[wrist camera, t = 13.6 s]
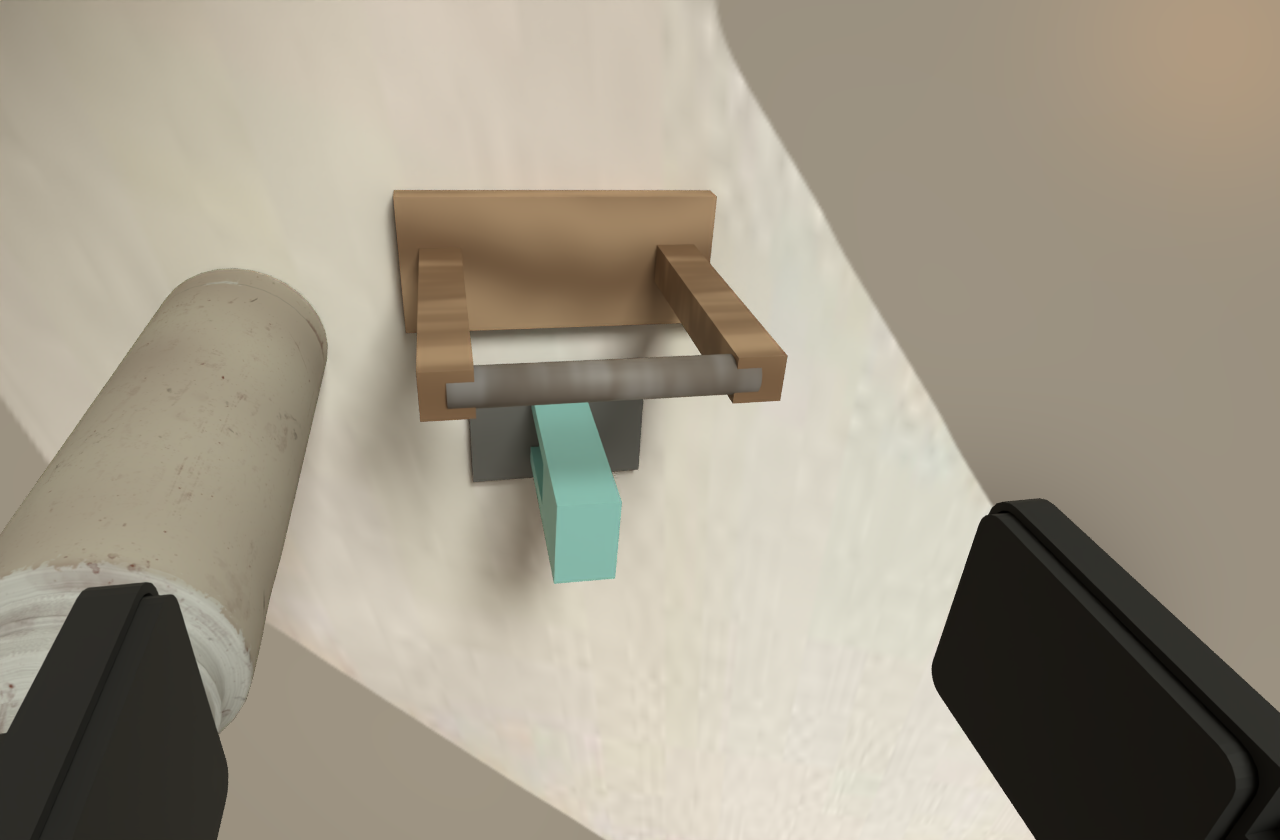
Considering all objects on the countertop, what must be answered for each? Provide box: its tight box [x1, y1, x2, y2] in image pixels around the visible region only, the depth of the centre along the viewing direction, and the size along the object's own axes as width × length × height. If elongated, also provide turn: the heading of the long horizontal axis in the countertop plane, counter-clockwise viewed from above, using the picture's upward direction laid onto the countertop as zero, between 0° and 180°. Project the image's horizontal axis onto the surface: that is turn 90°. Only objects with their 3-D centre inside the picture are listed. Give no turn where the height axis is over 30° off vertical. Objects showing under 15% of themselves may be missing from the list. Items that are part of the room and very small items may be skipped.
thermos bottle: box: [0, 269, 328, 734], centre depth 30 cm, size 8×8×28 cm
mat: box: [470, 399, 643, 482], centre depth 48 cm, size 7×10×1 cm
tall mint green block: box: [530, 402, 622, 584], centre depth 43 cm, size 5×3×11 cm, turn 176°
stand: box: [393, 190, 787, 422], centre depth 37 cm, size 7×16×15 cm, turn 87°
